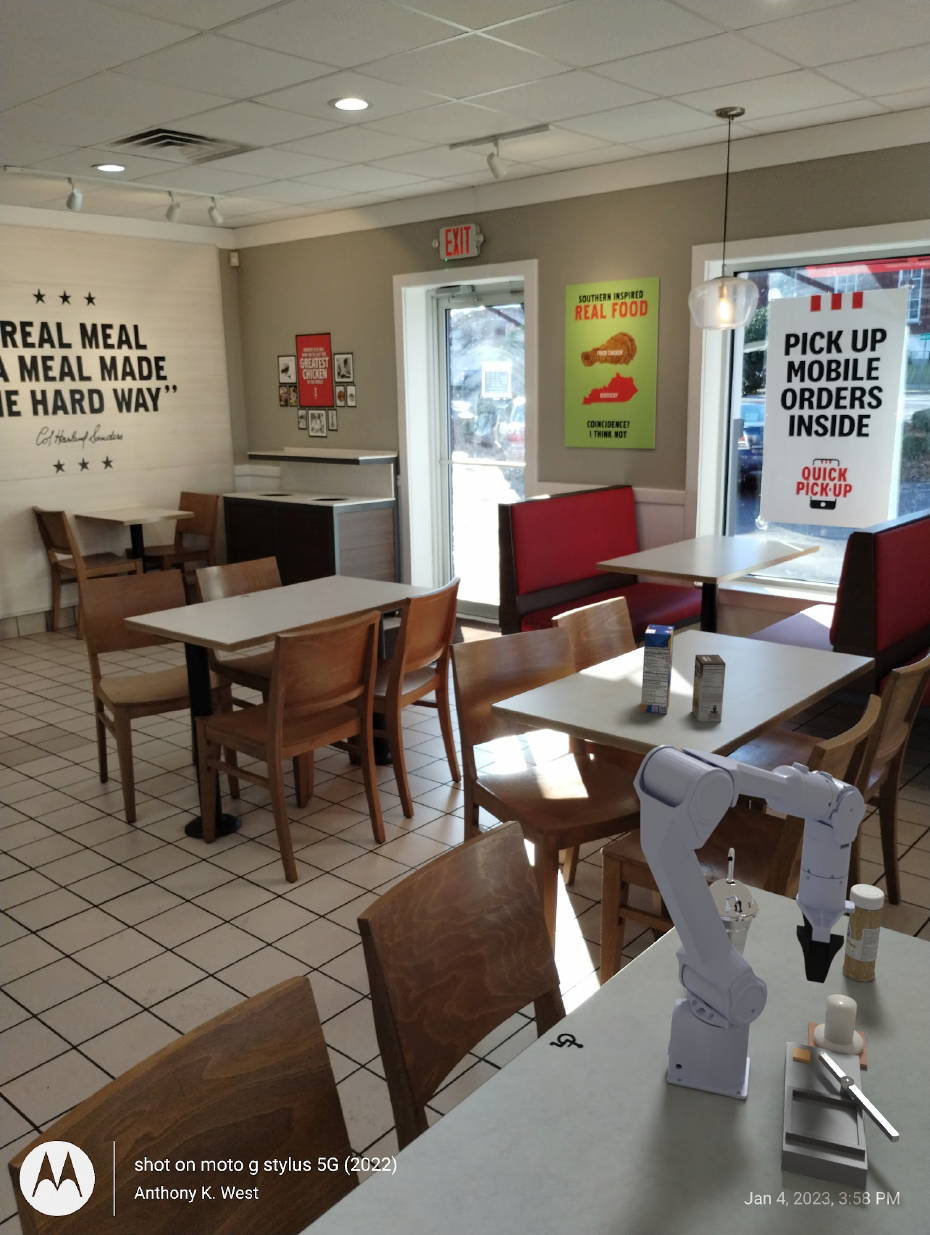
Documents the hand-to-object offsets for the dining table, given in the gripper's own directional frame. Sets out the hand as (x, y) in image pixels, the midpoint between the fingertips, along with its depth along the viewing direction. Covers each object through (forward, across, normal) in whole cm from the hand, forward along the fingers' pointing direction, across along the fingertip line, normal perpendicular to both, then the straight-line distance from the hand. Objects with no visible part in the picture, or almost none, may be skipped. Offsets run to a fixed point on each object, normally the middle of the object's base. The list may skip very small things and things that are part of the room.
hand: (815, 964), depth 130 cm
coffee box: (+11, +137, +26) cm, 140 cm away
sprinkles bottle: (+11, +18, -7) cm, 22 cm away
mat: (+10, -1, -4) cm, 11 cm away
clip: (+8, -16, -5) cm, 18 cm away
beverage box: (+11, +140, +40) cm, 146 cm away
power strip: (+10, -16, -2) cm, 19 cm away
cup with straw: (+11, +13, +12) cm, 21 cm away
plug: (+10, -1, -4) cm, 11 cm away
